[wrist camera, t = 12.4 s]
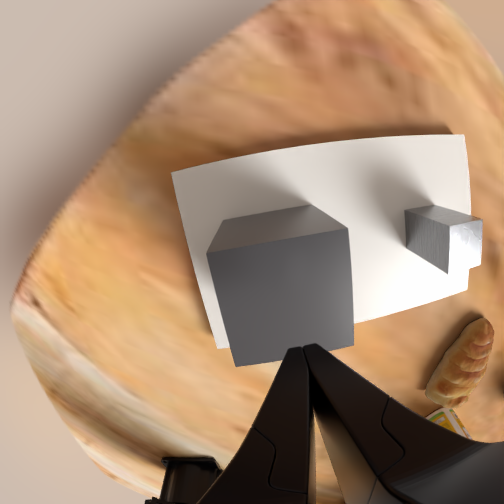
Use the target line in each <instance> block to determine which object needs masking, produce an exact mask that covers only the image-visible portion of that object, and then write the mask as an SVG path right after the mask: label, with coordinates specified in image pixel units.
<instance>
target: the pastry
mask: <svg viewBox="0 0 504 504" xmlns="http://www.w3.org/2000/svg"><path fill="white" fill-rule="evenodd" d="M493 336H494V330H493V327H492V325H491V324H490V322H489V321H488V320H487V319H485V318H480V319H478V320H476V321H474V322H472V323H470V324H468V325H467V326H466V327H465V328H464V330H463V331H462V333H461V335H460V336H459V337H458V339H457V340H456V341H455V342H454V343H453V344H452V346H451V347H450V348H449V349H448V350H447V351H446V352H445V354H444V357H443V359H442V360H441V361H440V363H439V365H438V366H437V368H436V369H435V371H434V372H433V374H432V376H431V378H430V379H429V381H428V384H427V386H426V391H425V394H426V396H427V398H429V399H430V400H432V401H433V402H434V403H437V404H440V405H442V406H443V407H445V408H458V407H460V406H461V405H462V404H463V403H466V402H467V401H468V397H469V396H470V393H471V392H472V391H473V390H474V388H475V387H476V386H477V384H478V383H479V381H480V380H481V379H482V378H483V376H484V374H485V372H486V365H487V362H488V357H489V354H490V353H491V350H492V343H493Z"/></svg>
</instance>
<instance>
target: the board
mask: <svg viewBox="0 0 504 504" xmlns="http://www.w3.org/2000/svg"><path fill="white" fill-rule="evenodd" d="M171 175H172V180H173V185H174V189H175V194H176V198H177V202H178V207H179V211H180V215H181V219H182V223H183V228H184V232H185V236H186V240H187V244H188V247H189V251H190V255H191V259H192V263H193V267H194V270H195V274H196V278H197V281H198V285H199V288H200V292H201V295H202V299H203V302H204V306H205V309H206V313H207V316H208V319H209V323H210V326H211V329H212V333H213V336H214V339H215V342H216V345H217V348H218V349H221V348H229V347H230V345H229V342H228V338H227V334H226V331H225V327H224V323H223V319H222V316H221V312H220V308H219V304H218V300H217V296H216V292H215V288H214V284H213V280H212V276H211V272H210V268H209V264H208V260H207V256H206V252H207V250H208V248H209V246H210V244H211V242H212V240H213V238H214V236H215V235H216V233H217V231H218V229H219V227H220V225H221V223H222V221H223V220H226V219H231V218H236V217H242V216H247V215H252V214H258V213H264V212H269V211H275V210H281V209H287V208H292V207H298V206H305V205H311V204H312V205H314V206H315V207H317V208H318V209H320V210H321V211H323V212H325V213H326V214H328V215H329V216H331V217H332V218H334V219H335V220H337V221H338V222H340V223H341V224H343V225H344V226H346V227H347V228H348V232H349V242H350V254H351V268H352V286H353V311H354V323H359V322H363V321H366V320H370V319H374V318H378V317H382V316H385V315H389V314H393V313H396V312H400V311H403V310H406V309H410V308H413V307H416V306H420V305H423V304H426V303H429V302H432V301H435V300H438V299H441V298H444V297H447V296H450V295H453V294H456V293H459V292H462V291H464V290H467V285H468V275H469V269H466V270H463V271H460V272H456V273H453V274H450V275H448V274H446V273H445V272H443V271H442V270H440V269H439V268H437V267H435V266H434V265H432V264H431V263H429V262H428V261H426V260H424V259H423V258H421V257H419V256H418V255H416V254H415V253H413V252H411V251H410V250H408V249H406V232H405V215H404V210H406V209H412V208H418V207H424V206H430V205H437V206H441V207H444V208H448V209H451V210H455V211H458V212H461V213H464V214H468V215H471V199H470V181H469V169H468V160H467V151H466V144H465V137H464V135H410V136H391V137H377V138H365V139H354V140H344V141H335V142H327V143H319V144H311V145H304V146H297V147H291V148H285V149H278V150H272V151H267V152H261V153H256V154H250V155H245V156H240V157H235V158H230V159H226V160H221V161H216V162H212V163H207V164H203V165H199V166H195V167H191V168H187V169H183V170H179V171H175V172H171Z"/></svg>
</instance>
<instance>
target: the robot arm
mask: <svg viewBox="0 0 504 504" xmlns="http://www.w3.org/2000/svg"><path fill="white" fill-rule="evenodd" d="M389 397H390V396H389V395H388V394H386V393H385V392H383V391H382V390H381V389H379V388H378V387H376V386H375V385H373V384H372V383H371V382H369V381H368V380H366V379H365V378H364V377H362V376H361V375H360V374H358V373H357V372H355V371H354V370H353V369H351V368H350V367H348V366H347V365H346V364H344V363H343V362H342V361H340V360H339V359H338V358H336V357H335V356H333V355H332V354H331V353H329V352H328V351H327V350H325V349H324V348H323V347H321V346H320V345H319V344H317V343H312V344H308V345H304V346H303V348H302V347H301V346H297V347H292V348H289V349H288V350H287V352H286V354H285V356H284V359H283V361H282V363H281V365H280V368H279V370H278V372H277V374H276V376H275V378H274V381H273V383H272V385H271V387H270V389H269V391H268V393H267V395H266V398H265V400H264V402H263V404H262V406H261V408H260V410H259V412H258V414H257V416H256V418H255V420H254V422H253V424H252V427H251V428H250V430H249V432H248V433H247V435H246V437H245V439H244V441H243V443H242V444H241V446H240V448H239V449H238V451H237V453H236V454H235V456H234V457H233V459H232V460H231V461H230V463H229V464H228V466H227V467H226V468H225V470H224V471H223V470H222V469H221V468H220V466H219V465H218V463H217V461H216V460H215V459H213V458H162V460H161V462H162V463H163V465H164V466H165V467H166V472H165V476H164V481H163V485H162V489H161V494H160V498H159V499H157V498H156V497H152V500H151V499H150V500H145V504H316V454H315V423H314V414H315V417H316V421H317V424H318V426H319V429H320V432H321V435H322V438H323V440H324V443H325V446H326V449H327V452H328V455H329V457H330V460H331V463H332V466H333V469H334V472H335V475H336V477H337V480H338V483H339V486H340V489H341V492H342V494H343V497H344V500H345V503H346V504H504V441H503V442H495V443H484V442H478V441H474V440H471V439H469V438H466V437H464V436H462V435H460V434H457V433H455V432H453V431H451V430H449V429H447V428H444V427H442V426H440V425H438V424H436V423H434V422H432V421H430V420H428V419H426V418H424V417H422V416H421V415H419V414H417V413H415V412H413V411H412V410H410V409H409V408H407V407H405V406H404V405H402V404H401V403H399V402H398V401H396V400H395V399H394V398H392V397H390V398H389ZM313 410H314V411H313Z"/></svg>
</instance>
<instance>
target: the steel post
mask: <svg viewBox="0 0 504 504" xmlns="http://www.w3.org/2000/svg"><path fill="white" fill-rule="evenodd" d="M404 215H405V232H406V249H408V250H410V251H411V252H413V253H415V254H416V255H418V256H419V257H421V258H423V259H424V260H426V261H428V262H429V263H431V264H432V265H434V266H435V267H437V268H439V269H440V270H442V271H443V272H445V273H446V274H448V275H450V274H453V273H456V272H460V271H463V270H466V269H469V268H472V267H475V266H478V265H480V263H481V250H482V219H480V218H477V217H474V216H471V215H468V214H464V213H461V212H458V211H455V210H451V209H448V208H444V207H441V206H437V205H430V206H424V207H418V208H412V209H406V210H404Z"/></svg>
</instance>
